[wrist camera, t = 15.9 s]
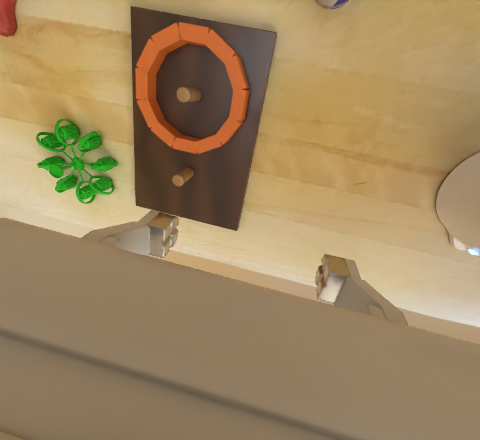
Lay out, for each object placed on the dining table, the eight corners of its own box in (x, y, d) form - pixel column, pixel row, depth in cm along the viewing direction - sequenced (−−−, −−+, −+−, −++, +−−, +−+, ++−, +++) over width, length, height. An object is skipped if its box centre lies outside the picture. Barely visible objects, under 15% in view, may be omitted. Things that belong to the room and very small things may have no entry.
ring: (258, 39, 33) (255, 35, 30) (237, 158, 40) (234, 162, 38) (144, 18, 34) (134, 13, 32) (145, 137, 41) (136, 140, 39)
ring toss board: (277, 34, 33) (274, 23, 28) (238, 228, 47) (231, 244, 42) (135, 8, 35) (107, -7, 29) (139, 203, 49) (120, 216, 44)
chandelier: (36, 118, 45) (-4, 122, 39) (111, 117, 42) (80, 121, 36) (65, 197, 52) (34, 211, 46) (131, 200, 49) (108, 215, 43)
